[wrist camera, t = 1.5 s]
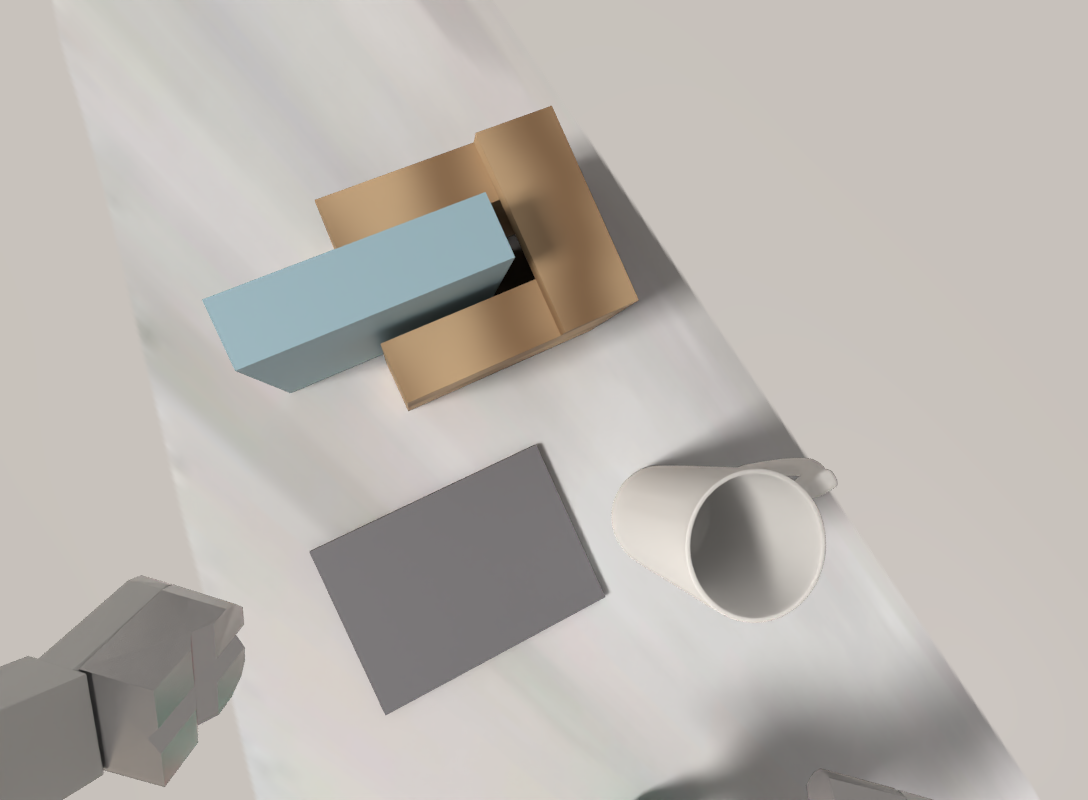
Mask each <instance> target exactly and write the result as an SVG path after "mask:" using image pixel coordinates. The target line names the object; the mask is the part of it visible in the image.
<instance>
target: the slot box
mask: <svg viewBox="0 0 1088 800" xmlns="http://www.w3.org/2000/svg"><path fill="white" fill-rule="evenodd" d="M484 192H486V194H487V196H488V198H489V201H490V203H491V205H492V207H493V209H494V212H495V214H496V216H497V218H498V221H499V223H500V225H501V227H502V229H503V232H504V234H505V236H506V238H507V237H509V236H512V235H514V234H515V235H516V237H517V239H518V241H519V244H520V246H521V248H522V250H523V252H524V255H525V257H526V259H527V261H528V264H529V266H530V268H531V270H532V272H533V275H534V277H535V280H532V281H530V282H527V283H525V284H523V285H520V286H518V287H515V288H513V289H511V290H508V291H506V292H503V293H501V294H499V295H496V296H494V297H491V298H489V299H487V300H484V301H482V302H479V303H477V304H475V305H472V306H470V307H467V308H465V309H463V310H460V311H458V312H455V313H453V314H451V315H448V316H446V317H443V318H441V319H439V320H436V321H434V322H431V323H429V324H427V325H424V326H422V327H419V328H417V329H415V330H412V331H410V332H407V333H405V334H403V335H400V336H398V337H395V338H393V339H391V340H388V341H386V342H383V343H381V347H382V350H383V353H384V357H385V360H386V363H387V365H388V367H389V370H390V372H391V374H392V376H393V378H394V381H395V383H396V385H397V387H398V389H399V391H400V394H401V396H402V398H403V400H404V402H405V405H406V407H407V409H408V411H410V410H412V409H414V408H416V407H419V406H421V405H423V404H425V403H428V402H430V401H432V400H434V399H437V398H439V397H441V396H443V395H446V394H448V393H450V392H452V391H455V390H457V389H459V388H462V387H464V386H466V385H468V384H471V383H473V382H475V381H477V380H480V379H482V378H484V377H486V376H489V375H491V374H493V373H495V372H498V371H500V370H502V369H504V368H507V367H509V366H511V365H513V364H516V363H518V362H520V361H523V360H525V359H527V358H529V357H532V356H534V355H536V354H538V353H541V352H543V351H545V350H547V349H550V348H552V347H554V346H556V345H559V344H561V343H563V342H565V341H568V340H570V339H572V338H575V337H577V336H579V335H581V334H584V333H586V332H588V331H590V330H592V329H593V328H595V327H597V326H598V325H600V324H601V323H603V322H605V321H606V320H608V319H609V318H611V317H613V316H614V315H616V314H617V313H619V312H621V311H622V310H624V309H625V308H627V307H629V306H630V305H632V304H633V303H635V302H637V301H638V297H637V295H636V293H635V291H634V288H633V286H632V284H631V282H630V279H629V277H628V275H627V273H626V271H625V268H624V266H623V264H622V262H621V259H620V257H619V255H618V253H617V250H616V248H615V246H614V244H613V241H612V239H611V237H610V235H609V233H608V230H607V228H606V226H605V224H604V221H603V219H602V217H601V215H600V212H599V210H598V208H597V206H596V203H595V201H594V199H593V197H592V195H591V192H590V190H589V188H588V186H587V183H586V181H585V179H584V177H583V174H582V172H581V170H580V168H579V166H578V163H577V161H576V159H575V157H574V154H573V152H572V150H571V148H570V145H569V143H568V141H567V139H566V136H565V134H564V132H563V130H562V128H561V125H560V123H559V121H558V119H557V116H556V114H555V112H554V110H553V107H552V106H550V107H547V108H544V109H541V110H539V111H536V112H533V113H530V114H527V115H525V116H522V117H519V118H516V119H513V120H511V121H508V122H505V123H502V124H500V125H497V126H494V127H491V128H488V129H486V130H483V131H480V132H477V133H476V135H475V139H474V143H471V144H468V145H465V146H463V147H460V148H457V149H454V150H452V151H449V152H446V153H443V154H441V155H438V156H435V157H432V158H430V159H427V160H424V161H421V162H419V163H416V164H413V165H410V166H407V167H405V168H402V169H399V170H396V171H394V172H391V173H388V174H385V175H383V176H380V177H377V178H374V179H372V180H369V181H366V182H363V183H360V184H358V185H355V186H352V187H349V188H347V189H344V190H341V191H338V192H336V193H333V194H330V195H327V196H325V197H322V198H319V199H316V200H315V202H316V205H317V207H318V210H319V212H320V215H321V217H322V220H323V222H324V225H325V227H326V230H327V232H328V235H329V237H330V240H331V242H332V245H333V247H334V249H337V248H339V247H342V246H345V245H347V244H350V243H352V242H355V241H358V240H360V239H363V238H366V237H368V236H371V235H373V234H376V233H379V232H381V231H384V230H387V229H389V228H392V227H395V226H397V225H400V224H402V223H405V222H408V221H410V220H413V219H416V218H418V217H421V216H423V215H426V214H429V213H431V212H434V211H437V210H439V209H442V208H445V207H447V206H450V205H452V204H455V203H458V202H460V201H463V200H466V199H468V198H471V197H473V196H476V195H479V194H481V193H484Z"/></svg>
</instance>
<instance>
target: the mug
mask: <svg viewBox="0 0 1088 800" xmlns="http://www.w3.org/2000/svg"><path fill="white" fill-rule="evenodd" d="M787 476H799V477H798V478H797V479H796V480H792V479H791V478H789V477H787ZM837 484H838V483H837V479H836V477H835V475H834V474H833V472H832V471H831V470H828V469H825V468H824V467H823V466H822V465H821V464H820V463H819V462H817V461H815V460H813V459H809V458H784V459H776V460H769V461H763V462H757V463H752V464H746V465H742V466H740V467H709V466H681V465H674V466H651V467H647V468H644V469H641V470H639V471H637V472H636V473H634V474H633V475H631V476H630V477H629V478H628V479H627V480H626V481H625V482H624V483H623V484H622V486H621V487H620V489H619V490H618V492H617V494H616V496H615V499H614V502H613V506H612V517H611V518H612V527H613V531H614V534H615V537H616V539H617V541H618V543H619V545H620V546H621V548H622V549H623V550H624V552H625V553H626V554H627V555H628V556H629V557H631V558H632V559H633V560H635V561H636V562H638V563H639V564H640V565H642V566H643V567H645V568H647V569H648V570H650V571H652V572H653V573H655V574H657V575H658V576H660V577H662V578H663V579H665V580H667V581H668V582H670V583H672V584H673V585H675V586H676V587H678V588H680V589H681V590H683V591H685V592H686V593H688V594H689V595H691V596H693V597H694V598H696V599H698V600H699V601H701V602H702V603H704V604H706V605H707V606H709V607H711V608H713V609H715V610H716V611H718V612H719V613H721V614H723V615H724V616H727V617H729V618H731V619H734V620H737V621H742V622H748V623H761V622H767V621H772V620H775V619H778V618H780V617H782V616H784V615H786V614H788V613H790V612H791V611H793V610H794V609H795V608H797V607H798V606H799V605H800V604H801V603H802V602H803V601H804V600H805V599H806V598H807V597H808V595H809V594H810V593H811V591H812V590H813V588H814V587H815V585H816V583H817V581H818V579H819V576H820V574H821V571H822V568H823V564H824V559H825V552H826V537H825V529H824V524H823V521H822V517H821V514H820V512H819V510H818V507H817V505H816V504H815V502H814V500H813V499H814V498H816V497H819V496H822V495H824V494H826V493H827V492H829V491H830V490H832V489H834V488H835V487H836V486H837Z"/></svg>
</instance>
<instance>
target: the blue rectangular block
mask: <svg viewBox="0 0 1088 800" xmlns="http://www.w3.org/2000/svg"><path fill="white" fill-rule="evenodd" d="M514 258H515V256H514V254H513V252H512V249H511V247H510V245H509V243H508V240H507V238H506V236H505V234H504V232H503V229H502V227H501V225H500V223H499V221H498V218H497V216H496V214H495V212H494V209H493V207H492V205H491V203H490V201H489V198H488V196H487V194H486V192H484V193H481V194H479V195H476V196H473V197H471V198H468V199H466V200H463V201H460V202H458V203H455V204H452V205H450V206H447V207H445V208H442V209H439V210H437V211H434V212H431V213H429V214H426V215H423V216H421V217H418V218H416V219H413V220H410V221H408V222H405V223H402V224H400V225H397V226H395V227H392V228H389V229H387V230H384V231H381V232H379V233H376V234H373V235H371V236H368V237H366V238H363V239H360V240H358V241H355V242H352V243H350V244H347V245H345V246H342V247H339V248H337V249H334V250H331V251H329V252H326V253H324V254H321V255H318V256H316V257H313V258H310V259H308V260H305V261H302V262H300V263H297V264H295V265H292V266H289V267H287V268H284V269H281V270H279V271H276V272H274V273H271V274H268V275H266V276H263V277H260V278H258V279H255V280H252V281H250V282H247V283H245V284H242V285H239V286H237V287H234V288H231V289H229V290H226V291H224V292H221V293H218V294H216V295H213V296H210V297H208V298H205V299H202V300H203V303H204V305H205V307H206V309H207V311H208V313H209V315H210V318H211V320H212V322H213V324H214V326H215V328H216V331H217V333H218V335H219V337H220V339H221V341H222V343H223V346H224V348H225V350H226V352H227V354H228V356H229V358H230V361H231V363H232V365H233V367H234V369H235V371H237V372H239V373H242V374H244V375H247V376H249V377H252V378H254V379H257V380H259V381H262V382H264V383H267V384H269V385H272V386H274V387H277V388H279V389H282V390H284V391H287V392H289V393H292V392H294V391H297V390H299V389H302V388H304V387H306V386H309V385H311V384H313V383H316V382H318V381H321V380H323V379H325V378H328V377H330V376H332V375H335V374H337V373H340V372H342V371H344V370H347V369H349V368H351V367H354V366H356V365H359V364H361V363H363V362H366V361H368V360H370V359H373V358H375V357H378V356H380V355H382V354H384V353H383V350H382V347H381V343H383V342H386V341H388V340H391V339H393V338H395V337H398V336H400V335H403V334H405V333H407V332H410V331H412V330H415V329H417V328H419V327H422V326H424V325H427V324H429V323H431V322H434V321H436V320H439V319H441V318H443V317H446V316H448V315H451V314H453V313H455V312H458V311H460V310H463V309H465V308H467V307H470V306H472V305H475V304H477V303H479V302H482V301H484V300H487V299H489V298H491V297H493V295H494V294H495V292H496V290H497V288H498V287H499V285H500V283H501V281H502V279H503V278H504V276H505V274H506V272H507V271H508V269H509V267H510V265H511V263H512V262H513V260H514Z"/></svg>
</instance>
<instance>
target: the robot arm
mask: <svg viewBox="0 0 1088 800" xmlns="http://www.w3.org/2000/svg"><path fill="white" fill-rule="evenodd" d="M243 625H244V616H243V607H241V606H239V605H237V604H234V603H231V602H227V601H224V600H221V599H218V598H215V597H211V596H208V595H205V594H202V593H199V592H196V591H192V590H189V589H186V588H183V587H180V586H176V585H172V584H169V583H166V582H162V581H159V580H156V579H152V578H149V577H146V576H142V575H141V576H139V577H136V578H133V579H131V580H129V581H127V582H126V583H125V584H124V585H123V586H121V587H120V588H119V589H118V590H117V591H116V592H114V594H112V595H111V596H110V597H109V598H108V599H106V600H105V601H104V602H103V603H102V604H101V605H99V606H98V607H97V608H96V609H95V610H94V611H93V612H91V613H90V614H89V615H88V616H87V617H86V618H85V619H83V621H81V622H80V623H79V624H78V625H77V626H75V627H74V628H73V629H72V630H71V631H70V632H69V633H68V634H66V635H65V636H64V637H63V638H62V639H60V640H59V641H58V642H57V643H56V644H55V645H54V646H53V647H51V648H50V649H49V650H48V651H47V652H46V653H44V654H43V655H42V656H41V657H40V658H39V659H37V658H33V657H29V656H27V657H24V658H22V659H19V660H17V661H14V662H11V663H9V664H6V665H3V666H1V667H0V800H63V799H64V798H66V797H68V796H69V795H71V794H73V793H74V792H76V791H77V790H79V789H81V788H82V787H84V786H86V785H87V784H89V783H91V782H92V781H94V780H95V779H97V778H99V777H100V776H102V775H103V773H104V772H103V770H105V771H109V772H112V773H116V774H120V775H123V776H127V777H130V778H134V779H137V780H141V781H145V782H148V783H152V784H155V785H159V786H163V787H165V786H166V785H167V783H168V782H169V781H170V779H171V778H172V776H173V775H174V774H175V773H176V771H177V770H178V769H179V767H180V766H181V765H182V763H183V762H184V761H185V759H186V758H187V757H188V755H189V754H190V753H191V751H192V750H193V749H194V747H195V746H196V745H197V743H198V725H199V724H201V723H203V722H205V721H207V720H209V719H211V718H213V717H215V716H217V715H219V713H220V712H221V711H222V709H223V708H224V707H225V705H226V704H227V702H228V701H229V700H230V698H231V697H232V695H233V693H234V690H235V688H236V686H237V684H238V682H239V680H240V678H241V675H242V671H243V666H244V662H245V647H244V646H243V644H242V643H241V641H240V640H239V639H238V637H237V636H236V634H237V633H238V631H239V630H240V629H241V628H242V626H243ZM806 788H807V793H808V799H809V800H932V799H928V798H925V797H921V796H918V795H914V794H911V793H907V792H904V791H900V790H895V789H894V788H892V787H888V786H884V785H880V784H877V783H873V782H869V781H866V780H862V779H858V778H854V777H851V776H847V775H843V774H840V773H836V772H832V771H828V770H825V769H819V770H817V771H815V772H814V773H813V774H812V776H811V777H810V779H809V781H808V782H807V784H806Z"/></svg>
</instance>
